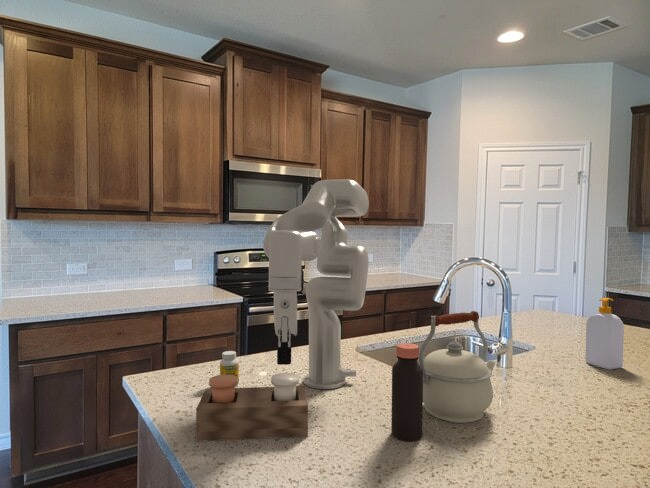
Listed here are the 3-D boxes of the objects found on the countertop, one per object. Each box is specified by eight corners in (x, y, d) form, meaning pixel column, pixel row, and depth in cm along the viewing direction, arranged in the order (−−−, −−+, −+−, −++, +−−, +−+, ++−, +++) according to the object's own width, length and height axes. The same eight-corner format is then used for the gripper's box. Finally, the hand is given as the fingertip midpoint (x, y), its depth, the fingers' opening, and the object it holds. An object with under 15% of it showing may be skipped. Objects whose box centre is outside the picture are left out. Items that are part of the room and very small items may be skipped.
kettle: (446, 435, 97) (448, 324, 96) (396, 406, 113) (397, 310, 112) (523, 414, 108) (525, 314, 108) (467, 390, 125) (469, 303, 124)
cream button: (298, 397, 105) (298, 372, 105) (299, 408, 99) (299, 381, 98) (271, 398, 104) (271, 373, 104) (270, 409, 98) (270, 382, 98)
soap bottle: (624, 367, 146) (626, 299, 146) (610, 370, 144) (612, 300, 143) (598, 360, 155) (600, 296, 154) (585, 362, 152) (586, 297, 151)
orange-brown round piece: (239, 399, 103) (239, 374, 103) (236, 410, 97) (236, 383, 97) (211, 400, 103) (211, 374, 103) (207, 411, 96) (206, 384, 96)
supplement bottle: (234, 380, 132) (234, 349, 131) (241, 386, 127) (241, 353, 127) (217, 384, 129) (217, 351, 128) (223, 389, 124) (223, 356, 124)
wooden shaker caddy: (305, 413, 108) (305, 385, 108) (307, 436, 96) (308, 405, 96) (205, 417, 106) (205, 388, 105) (196, 441, 94) (196, 409, 93)
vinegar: (415, 445, 93) (417, 351, 92) (386, 436, 96) (387, 346, 96) (426, 432, 98) (427, 344, 98) (398, 425, 102) (399, 340, 101)
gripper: (302, 287, 93) (301, 373, 93) (300, 281, 108) (299, 354, 108) (267, 287, 93) (266, 373, 93) (269, 281, 107) (268, 355, 108)
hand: (284, 363), depth 101 cm, fingers closed
